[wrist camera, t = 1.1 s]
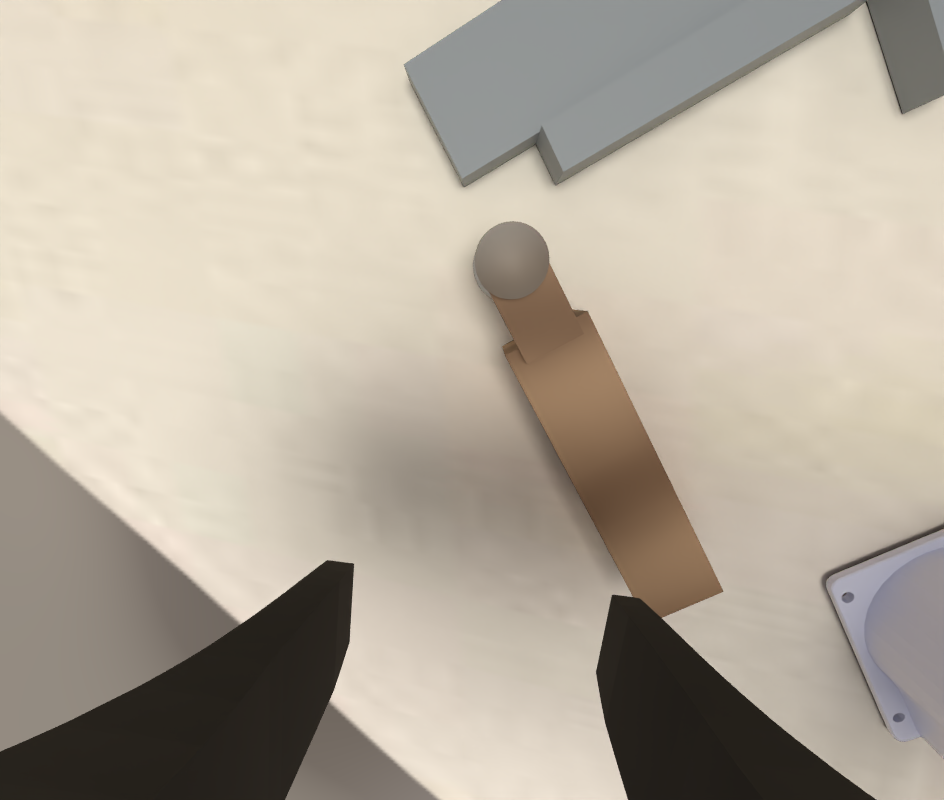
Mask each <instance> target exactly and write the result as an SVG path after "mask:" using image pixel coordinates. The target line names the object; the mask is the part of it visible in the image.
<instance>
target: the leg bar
mask: <svg viewBox="0 0 944 800" xmlns="http://www.w3.org/2000/svg"><path fill="white" fill-rule="evenodd" d="M475 270H476V273H477V276H478V278H479V281H480V282H481V284H482V285H483V287H484V288H485V289H486V290H487V291H488V292H489V293H490V295H491V297H492V299H493V301H494V303H495V304H496V306H497V308H498V310H499V312H500V314H501V316H502V318H503V320H504V322H505V324H506V325H507V327H508V329H509V331H510V333H511V335H512V337H513V339H514V340H513V341H511V342H509V343H507V344H506V345H504V346H502V347H503V350H504V354H505V356H506V358H507V360H508V362H509V364H510V366H511V368H512V370H513V371H514V373H515V375H516V377H517V379H518V381H519V383H520V385H521V387H522V388H523V390H524V392H525V394H526V396H527V398H528V400H529V402H530V404H531V405H532V407H533V409H534V411H535V413H536V415H537V417H538V419H539V420H540V422H541V424H542V426H543V428H544V430H545V432H546V434H547V436H548V437H549V439H550V441H551V443H552V445H553V447H554V449H555V451H556V452H557V454H558V456H559V458H560V460H561V462H562V464H563V466H564V468H565V469H566V471H567V473H568V475H569V477H570V479H571V481H572V483H573V484H574V486H575V488H576V490H577V492H578V494H579V496H580V498H581V500H582V501H583V503H584V505H585V507H586V509H587V511H588V513H589V515H590V516H591V518H592V520H593V522H594V524H595V526H596V528H597V530H598V532H599V533H600V535H601V537H602V539H603V541H604V543H605V545H606V547H607V549H608V550H609V552H610V554H611V556H612V558H613V560H614V562H615V564H616V565H617V567H618V569H619V571H620V573H621V575H622V577H623V579H624V581H625V582H626V584H627V586H628V588H629V590H630V592H631V594H632V596H633V597H635V598H640V599H641V600H642V601H644V602H645V603H646V604H647V605H648V606H649V607H650V608H651V609H652V610H653V611H654V612H656V613H657V614H658V615H659V616H660V617H661V618H662V617H665V616H667V615H669V614H672V613H674V612H676V611H679V610H681V609H683V608H686V607H688V606H691V605H693V604H695V603H698V602H700V601H702V600H705V599H707V598H709V597H712V596H714V595H717V594H719V593H721V592H723V590H722V588H721V586H720V583H719V581H718V579H717V577H716V575H715V573H714V571H713V569H712V567H711V565H710V563H709V561H708V559H707V557H706V555H705V552H704V550H703V548H702V546H701V544H700V542H699V540H698V538H697V536H696V534H695V532H694V530H693V528H692V526H691V524H690V522H689V519H688V517H687V515H686V513H685V511H684V509H683V507H682V505H681V503H680V501H679V499H678V497H677V495H676V493H675V491H674V489H673V486H672V484H671V482H670V480H669V478H668V476H667V474H666V472H665V470H664V468H663V466H662V464H661V462H660V460H659V458H658V455H657V453H656V451H655V449H654V447H653V445H652V443H651V441H650V439H649V437H648V435H647V433H646V431H645V429H644V427H643V425H642V422H641V420H640V418H639V416H638V414H637V412H636V410H635V408H634V406H633V404H632V402H631V400H630V398H629V396H628V394H627V392H626V389H625V387H624V385H623V383H622V381H621V379H620V377H619V375H618V373H617V371H616V369H615V367H614V365H613V363H612V361H611V358H610V356H609V354H608V352H607V350H606V348H605V346H604V344H603V342H602V340H601V338H600V336H599V334H598V332H597V330H596V328H595V325H594V323H593V321H592V319H591V317H590V315H589V313H588V311H581V310H572V308H571V306H570V304H569V302H568V300H567V298H566V296H565V294H564V292H563V290H562V288H561V286H560V284H559V282H558V280H557V278H556V276H555V274H554V271H553V269H552V267H551V265H550V263H549V251H548V248H547V245H546V242H545V241H544V239H543V237H542V236H541V235H540V233H539V232H538V231H537V230H535V229H534V228H533V227H531V226H529V225H527V224H524V223H521V222H514V221H513V222H504V223H501V224H498V225H496V226H494V227H493V228H491V229H490V230H489V231H488V232H487V233H486V234H485V235H484V236H483V237H482V239H481V240H480V242H479V244H478V246H477V249H476V253H475Z"/></svg>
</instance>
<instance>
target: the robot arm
mask: <svg viewBox="0 0 944 800" xmlns="http://www.w3.org/2000/svg"><path fill="white" fill-rule="evenodd" d="M353 573H354V564H353V563H345V562H336V561H328V560H327V561H326V562H324V563H323V564H322V565H320V566H319V567H318V568H316V569H315V570H313V571H312V572H311V573H310V574H308V575H307V576H306V577H304V578H303V579H302V580H300V581H299V582H298V583H297V584H295V585H294V586H293V587H291V588H290V589H289V590H287V591H286V592H285V593H284V594H282V595H281V596H280V597H278V598H277V599H276V600H274V601H273V602H271V603H270V604H269V605H267V606H266V607H265V608H263V609H262V610H261V611H259V612H258V613H257V614H255V615H254V616H252V617H251V618H250V619H248V620H247V621H245V622H244V623H242V624H241V625H239V626H238V627H236V628H235V629H233V630H232V631H230V632H229V633H227V634H226V635H224V636H223V637H221V638H220V639H218V640H217V641H215V642H214V643H212V644H211V645H209V646H208V647H206V648H205V649H203V650H201V651H200V652H198V653H196V654H195V655H193V656H191V657H190V658H188V659H187V660H185V661H183V662H182V663H180V664H178V665H176V666H174V667H173V668H171V669H169V670H168V671H166V672H164V673H162V674H161V675H159V676H157V677H155V678H153V679H152V680H150V681H148V682H146V683H144V684H142V685H141V686H139V687H137V688H135V689H133V690H131V691H129V692H127V693H125V694H123V695H121V696H119V697H117V698H115V699H113V700H111V701H109V702H107V703H105V704H103V705H101V706H99V707H97V708H95V709H93V710H91V711H89V712H87V713H85V714H83V715H81V716H79V717H77V718H75V719H73V720H70V721H68V722H66V723H64V724H62V725H60V726H58V727H55V728H53V729H51V730H49V731H46V732H44V733H42V734H40V735H38V736H35V737H33V738H31V739H29V740H26V741H24V742H22V743H20V744H17V745H15V746H12V747H10V748H8V749H5V750H3V751H1V752H0V800H285V798H286V796H287V794H288V792H289V789H290V787H291V785H292V783H293V781H294V778H295V776H296V774H297V772H298V769H299V767H300V765H301V763H302V761H303V758H304V756H305V754H306V752H307V749H308V747H309V745H310V743H311V740H312V738H313V736H314V734H315V731H316V729H317V727H318V725H319V722H320V720H321V718H322V716H323V714H324V711H325V709H326V707H327V705H328V702H329V700H330V698H331V695H332V693H333V691H334V688H335V685H336V682H337V679H338V676H339V673H340V670H341V667H342V664H343V661H344V658H345V654H346V651H347V648H348V645H349V641H350V624H351V607H352V590H353ZM826 588H827V590H828V593H829V595H830V597H831V600H832V602H833V604H834V607H835V609H836V611H837V613H838V616H839V618H840V620H841V623H842V625H843V627H844V630H845V632H846V634H847V637H848V639H849V641H850V644H851V646H852V648H853V651H854V653H855V655H856V657H857V660H858V662H859V664H860V667H861V669H862V671H863V674H864V676H865V678H866V681H867V683H868V685H869V688H870V690H871V692H872V694H873V697H874V699H875V701H876V704H877V706H878V708H879V711H880V713H881V715H882V718H883V720H884V722H885V725H886V727H887V729H888V731H889V732H890V734H891V735H892V736H893V737H894V738H895V739H896V740H898V741H904V742H905V741H909V740H912V739H915V738H918V737H921V736H922V737H923V738H924V739H925V741H926V742H927V743H928V744H929V745H930V746H931V747H932V748H933V749H934V750H935V751H936V752H937V753H938V754H939V755H940V756H941V757H942V758H943V759H944V529H942V530H939V531H937V532H935V533H932V534H930V535H927V536H925V537H923V538H920V539H918V540H915V541H913V542H910V543H908V544H906V545H903V546H901V547H898V548H896V549H894V550H891V551H889V552H886V553H884V554H881V555H879V556H877V557H874V558H872V559H869V560H867V561H865V562H862V563H860V564H857V565H855V566H852V567H850V568H848V569H845V570H843V571H840V572H838V573H836V574H833V575H832V576H830V577H829V578H828V579H827V582H826ZM846 592H847V593H846ZM845 593H846V595H844V596H842V595H843V594H845ZM596 675H597V680H598V686H599V692H600V698H601V703H602V709H603V714H604V719H605V724H606V727H607V731H608V734H609V738H610V741H611V744H612V748H613V751H614V755H615V758H616V761H617V765H618V768H619V771H620V775H621V778H622V781H623V785H624V788H625V791H626V794H627V798H628V800H876V799H875V798H873V797H872V796H870V795H869V794H867V793H866V792H865V791H863V790H862V789H861V788H859V787H858V786H856V785H855V784H854V783H852V782H851V781H850V780H848V779H847V778H845V777H844V776H843V775H841V774H840V773H839V772H837V771H836V770H835V769H833V768H832V767H831V766H829V765H828V764H827V763H826V762H824V761H823V760H822V759H820V758H819V757H818V756H817V755H815V754H814V753H813V752H811V751H810V750H809V749H808V748H806V747H805V746H804V745H802V744H801V743H800V742H799V741H797V740H796V739H795V738H793V737H792V736H791V735H790V734H788V733H787V732H786V731H785V730H784V729H782V728H781V727H780V726H779V725H777V724H776V723H775V722H774V721H773V720H771V719H770V718H769V717H768V716H767V715H766V714H764V713H763V712H762V711H761V710H760V709H759V708H757V707H756V706H755V705H754V704H753V703H752V702H751V701H749V700H748V699H747V698H746V697H745V696H744V695H742V694H741V693H740V692H739V691H738V690H737V689H736V688H735V687H733V686H732V685H731V684H730V683H729V682H728V681H727V680H726V679H725V678H724V677H722V676H721V675H720V674H719V673H718V672H717V671H716V670H715V669H714V668H713V667H712V666H711V665H709V664H708V663H707V662H706V661H705V660H704V659H703V658H702V657H701V656H700V655H699V654H698V653H697V652H696V651H695V650H694V649H693V648H692V647H691V646H690V645H688V644H687V643H686V642H685V641H684V640H683V639H682V638H681V637H680V636H679V635H678V634H677V633H676V632H675V631H674V630H673V629H672V628H671V627H670V626H669V625H668V624H667V623H666V622H665V621H664V620H663V619H662V618H661V617H660V616H659V615H658V614H657V613H656V612H654V611H653V610H652V609H651V608H650V607H649V606H648V605H647V604H646V603H645V602H644V601H642V600H641V599H640V598H635V597H627V596H618V595H612V598H611V602H610V607H609V612H608V617H607V622H606V627H605V631H604V636H603V641H602V646H601V651H600V656H599V661H598V665H597V670H596Z"/></svg>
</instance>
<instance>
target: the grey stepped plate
mask: <svg viewBox="0 0 944 800" xmlns="http://www.w3.org/2000/svg"><path fill="white" fill-rule="evenodd" d="M866 1H867V3H868V6H869V9H870V13H871V16H872V19H873V22H874V25H875V28H876V31H877V35H878V38H879V41H880V44H881V47H882V50H883V53H884V57H885V60H886V63H887V66H888V69H889V72H890V75H891V78H892V82H893V85H894V88H895V91H896V94H897V97H898V100H899V104H900V107H901V110H902V113H906V112H908V111H910V110H912V109H915V108H917V107H919V106H921V105H924V104H926V103H928V102H930V101H932V100H935V99H937V98H939V97H941V96H944V0H501V1H500V2H498V3H497V4H495V5H494V6H492V7H490V8H489V9H487V10H486V11H484V12H483V13H481V14H480V15H478V16H477V17H475V18H474V19H472V20H471V21H469V22H468V23H466V24H465V25H463V26H462V27H460V28H458V29H457V30H455V31H454V32H452V33H451V34H449V35H448V36H446V37H445V38H443V39H442V40H440V41H439V42H437V43H436V44H434V45H433V46H431V47H430V48H428V49H426V50H425V51H423V52H422V53H420V54H419V55H417V56H416V57H414V58H413V59H411V60H410V61H408V62H407V63H405V64H404V67H405V69H406V72H407V75H408V78H409V81H410V83H411V85H412V87H413V89H414V91H415V93H416V95H417V97H418V99H419V100H420V102H421V104H422V106H423V108H424V110H425V112H426V114H427V116H428V118H429V120H430V122H431V124H432V126H433V128H434V130H435V132H436V134H437V136H438V138H439V140H440V142H441V144H442V145H443V147H444V149H445V151H446V153H447V155H448V157H449V159H450V161H451V163H452V165H453V167H454V169H455V171H456V173H457V175H458V177H459V179H460V181H461V183H462V185H463V187H465V186H467V185H468V184H470V183H472V182H473V181H475V180H477V179H478V178H480V177H482V176H483V175H485V174H487V173H488V172H490V171H492V170H493V169H495V168H497V167H498V166H500V165H502V164H503V163H505V162H507V161H508V160H510V159H512V158H513V157H515V156H517V155H518V154H520V153H522V152H523V151H525V150H527V149H528V148H530V147H532V146H533V145H535V144H536V145H537V147H538V149H539V152H540V154H541V156H542V158H543V160H544V162H545V164H546V166H547V169H548V171H549V173H550V175H551V177H552V179H553V181H554V183H555V185H557V184H559V183H561V182H562V181H564V180H566V179H567V178H569V177H571V176H573V175H574V174H576V173H578V172H580V171H581V170H583V169H585V168H586V167H588V166H590V165H592V164H593V163H595V162H597V161H598V160H600V159H602V158H604V157H605V156H607V155H609V154H610V153H612V152H614V151H616V150H617V149H619V148H621V147H622V146H624V145H626V144H628V143H629V142H631V141H633V140H634V139H636V138H638V137H640V136H641V135H643V134H645V133H646V132H648V131H650V130H652V129H653V128H655V127H657V126H658V125H660V124H662V123H664V122H665V121H667V120H669V119H670V118H672V117H674V116H676V115H677V114H679V113H681V112H682V111H684V110H686V109H688V108H689V107H691V106H693V105H695V104H696V103H698V102H700V101H701V100H703V99H705V98H707V97H708V96H710V95H712V94H713V93H715V92H717V91H719V90H720V89H722V88H724V87H725V86H727V85H729V84H731V83H732V82H734V81H736V80H737V79H739V78H741V77H743V76H744V75H746V74H748V73H749V72H751V71H753V70H755V69H756V68H758V67H760V66H761V65H763V64H765V63H767V62H768V61H770V60H772V59H773V58H775V57H777V56H779V55H780V54H782V53H784V52H785V51H787V50H789V49H791V48H792V47H794V46H796V45H798V44H799V43H801V42H803V41H804V40H806V39H808V38H810V37H811V36H813V35H815V34H816V33H818V32H820V31H822V30H823V29H825V28H827V27H828V26H830V25H832V24H834V23H835V22H837V21H839V20H840V19H842V18H844V17H846V16H847V15H849V14H851V13H852V12H853V11H854V10H856V9H857V8H858V7H859V6H861V5H862V4H863V3H864V2H866ZM473 270H474V276H475V279H476V281H477V283H478V285H479V287H480V288H481V290H482V291H483V292H484V293H485V294H486V295H487V296H489V297H490V298H492V297H491V295H490V293H489V292H488V291H487V290H486V289H485V288H484V287H483V285H482V284H481V282H480V281H479V278H478V276H477V273H476V270H475V256H474V261H473Z"/></svg>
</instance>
